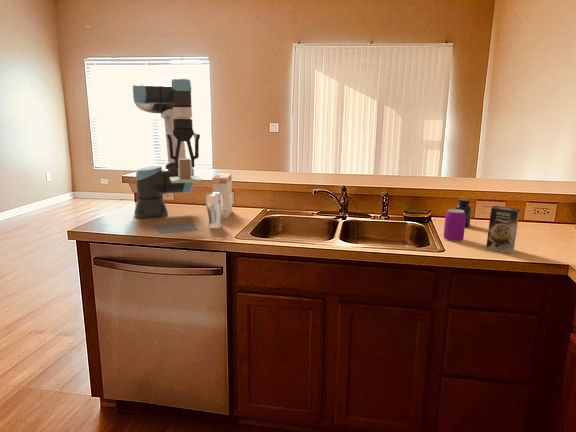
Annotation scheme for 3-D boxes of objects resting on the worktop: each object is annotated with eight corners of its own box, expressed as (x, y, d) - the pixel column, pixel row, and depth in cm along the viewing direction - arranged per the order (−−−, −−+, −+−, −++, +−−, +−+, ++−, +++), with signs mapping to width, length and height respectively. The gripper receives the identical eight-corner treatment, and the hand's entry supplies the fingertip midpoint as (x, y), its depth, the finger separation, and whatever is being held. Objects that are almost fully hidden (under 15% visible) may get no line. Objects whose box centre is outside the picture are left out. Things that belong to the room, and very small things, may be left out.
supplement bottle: (470, 224, 202) (473, 199, 199) (469, 227, 196) (472, 201, 193) (454, 222, 205) (456, 197, 202) (453, 226, 199) (455, 200, 196)
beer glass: (219, 230, 187) (219, 195, 183) (204, 229, 188) (203, 194, 185) (225, 226, 194) (224, 192, 190) (210, 225, 195) (209, 191, 191)
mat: (155, 225, 193) (155, 224, 193) (191, 222, 199) (191, 221, 199) (159, 234, 179) (158, 233, 179) (198, 231, 184) (198, 230, 184)
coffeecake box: (218, 211, 222) (217, 172, 218) (232, 211, 222) (232, 173, 218) (212, 218, 208) (211, 177, 203) (227, 218, 208) (226, 177, 203)
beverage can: (445, 241, 175) (448, 212, 172) (441, 236, 182) (444, 208, 179) (465, 242, 174) (468, 213, 171) (460, 237, 181) (463, 208, 178)
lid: (169, 179, 188) (168, 158, 186) (197, 178, 191) (197, 157, 189) (171, 183, 176) (170, 160, 175) (201, 181, 180) (201, 159, 178)
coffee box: (485, 249, 165) (490, 207, 161) (488, 245, 170) (493, 204, 166) (512, 254, 160) (518, 211, 156) (514, 249, 165) (520, 208, 161)
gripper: (161, 118, 172) (164, 177, 177) (205, 118, 178) (207, 175, 183) (160, 118, 179) (163, 175, 184) (202, 118, 185) (204, 173, 190)
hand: (185, 175), depth 184 cm, fingers closed on lid, 4 cm apart
